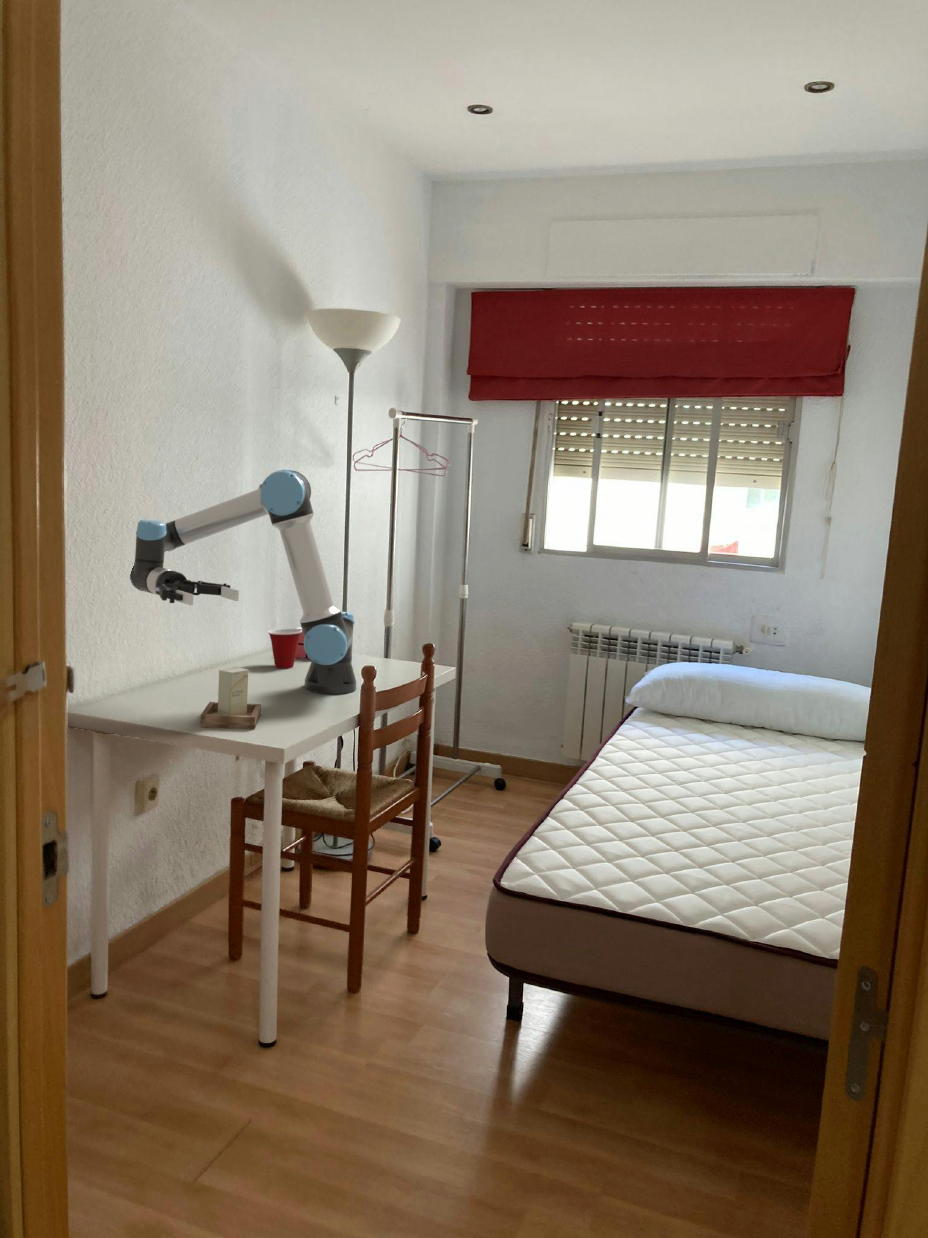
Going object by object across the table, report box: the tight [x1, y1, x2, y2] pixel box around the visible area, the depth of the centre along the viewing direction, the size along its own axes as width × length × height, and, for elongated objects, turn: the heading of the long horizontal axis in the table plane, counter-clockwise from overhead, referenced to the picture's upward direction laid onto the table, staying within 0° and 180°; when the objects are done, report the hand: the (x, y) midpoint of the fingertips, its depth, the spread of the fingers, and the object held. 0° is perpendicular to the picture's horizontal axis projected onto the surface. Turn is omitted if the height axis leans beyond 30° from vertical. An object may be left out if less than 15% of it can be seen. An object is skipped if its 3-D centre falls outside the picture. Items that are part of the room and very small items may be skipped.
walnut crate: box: [199, 701, 262, 730], centre depth 237 cm, size 13×13×3 cm
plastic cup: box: [267, 628, 302, 669], centre depth 303 cm, size 11×11×12 cm
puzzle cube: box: [294, 626, 310, 660], centre depth 321 cm, size 10×10×10 cm
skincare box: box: [217, 666, 249, 716], centre depth 236 cm, size 6×4×12 cm
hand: (215, 597), depth 240 cm, fingers open, 13 cm apart
